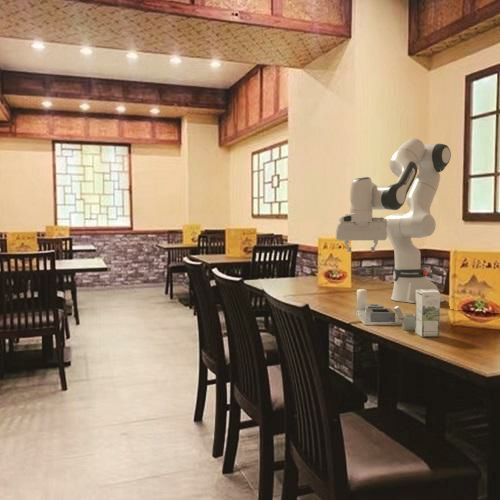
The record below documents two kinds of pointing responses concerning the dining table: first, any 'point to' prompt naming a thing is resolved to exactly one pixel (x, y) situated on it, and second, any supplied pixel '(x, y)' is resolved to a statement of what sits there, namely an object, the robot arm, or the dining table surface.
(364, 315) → the fitting board
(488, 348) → the dining table surface
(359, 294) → the white rounded cylinder
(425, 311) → the syrup box
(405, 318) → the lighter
